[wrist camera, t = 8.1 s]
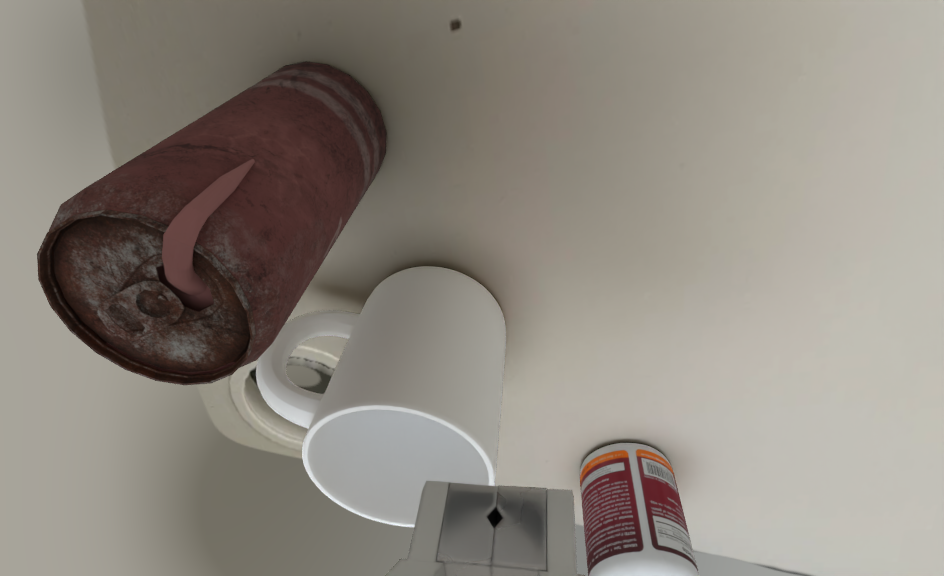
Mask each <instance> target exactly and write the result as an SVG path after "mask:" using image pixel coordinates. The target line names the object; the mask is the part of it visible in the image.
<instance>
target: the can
mask: <svg viewBox="0 0 944 576" xmlns="http://www.w3.org/2000/svg"><path fill="white" fill-rule="evenodd" d="M385 153H386V130H385V127H384V123H383V120H382V116H381V113H380V110H379V109H378V107H377V106H376V104H375V103H374V101H373V99H372V98H371V96H370V95H369V93H368V92H367V91H366V90H365V89H364V88H363V87H362V86H361V85H360V84H359V83H358V82H356V81H355V80H354V79H353V78H352V77H351V76H350V75H348V74H346V73H344V72H342V71H340V70H338V69H336V68H333V67H331V66H329V65H325V64H319V63H312V62H302V63H297V64H292V65H287V66H284V67H283V68H281V69H279V70H278V71H276V72H275V73H273V74H271V75H270V76H268V77H266V78H265V79H263V80H261V81H260V82H258V83H257V84H255V85H253V86H252V87H250V88H248V89H247V90H245V91H243V92H242V93H240V94H239V95H237V96H235V97H234V98H232V99H230V100H229V101H227V102H225V103H224V104H222V105H221V106H219V107H217V108H216V109H214V110H212V111H211V112H209V113H207V114H206V115H204V116H203V117H201V118H199V119H198V120H196V121H194V122H193V123H191V124H189V125H188V126H186V127H185V128H183V129H181V130H180V131H178V132H176V133H175V134H173V135H171V136H170V137H168V138H167V139H165V140H163V141H162V142H160V143H158V144H157V145H155V146H153V147H152V148H150V149H149V150H147V151H145V152H144V153H142V154H140V155H139V156H137V157H135V158H134V159H132V160H130V161H129V162H127V163H126V164H124V165H122V166H121V167H119V168H117V169H116V170H114V171H112V172H111V173H109V174H108V175H106V176H104V177H103V178H101V179H100V180H98V181H96V182H94V183H93V184H91V185H90V186H88V187H86V188H85V189H83V190H82V191H80V192H79V193H77V194H76V195H74V196H73V197H72V198H70V199H69V200H67V201H66V202H64V203H63V204H61V206H60V208H59V210H58V212H57V214H56V216H55V219H54V221H53V223H52V225H51V227H50V229H49V232H48V233H47V234H46V237H45V239H44V241H43V243H42V245H41V247H40V249H39V251H38V253H37V259H38V277H39V282H40V284H41V286H42V288H43V290H44V293H45V295H46V297H47V300H48V302H49V304H50V306H51V307H52V309H53V310H54V311H55V312H56V314H57V315H58V316H59V317H60V319H61V320H62V321H63V322H64V324H65V325H66V326H67V327H68V329H69V330H70V331H71V332H72V333H73V334H74V335H76V336H77V337H78V338H79V339H81V340H82V341H83V342H84V343H85V344H86V345H88V346H89V347H90V348H91V349H92V350H93V351H95V352H96V353H97V354H99V355H101V356H103V357H104V358H106V359H108V360H110V361H111V362H113V363H115V364H117V365H118V366H120V367H122V368H124V369H125V370H128V371H131V372H134V373H136V374H139V375H142V376H145V377H147V378H150V379H153V380H155V381H162V382H168V383H174V384H181V385H194V384H207V383H213V382H215V381H218V380H220V379H222V378H225V377H227V376H230V375H232V374H233V373H234V372H235V371H236V370H237V369H238V368H240V367H242V366H244V365H247V364H249V363H251V362H253V361H256V360H257V359H258V358H259V357H260V356H261V355H262V354H263V353H264V352H265V351H266V350H267V349H268V348H269V347H270V346H271V344H272V343H273V342H274V340H275V339H276V337H277V335H278V334H279V332H280V330H281V329H282V327H283V326H284V324H285V322H286V321H287V319H288V317H289V316H290V314H291V313H292V311H293V309H294V308H295V306H296V304H297V303H298V301H299V300H300V298H301V296H302V295H303V293H304V291H305V290H306V288H307V287H308V285H309V283H310V282H311V280H312V278H313V277H314V275H315V274H316V272H317V270H318V269H319V267H320V265H321V264H322V262H323V261H324V259H325V257H326V256H327V254H328V252H329V251H330V249H331V248H332V246H333V244H334V243H335V241H336V239H337V238H338V236H339V235H340V233H341V231H342V230H343V228H344V226H345V225H346V223H347V222H348V220H349V218H350V217H351V215H352V213H353V212H354V210H355V209H356V207H357V205H358V204H359V202H360V200H361V199H362V197H363V196H364V194H365V192H366V191H367V189H368V187H369V186H370V184H371V183H372V181H373V179H374V178H375V176H376V174H377V173H378V171H379V169H380V167H381V164H382V161H383V159H384V156H385Z"/></svg>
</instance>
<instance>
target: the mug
mask: <svg viewBox="0 0 944 576" xmlns="http://www.w3.org/2000/svg"><path fill="white" fill-rule="evenodd" d="M318 336H337V337H342V338H346V339H349V340H348V342H347V344H346V346H345V348H344V351H343V353H342V355H341V357H340V360H339V362H338V364H337V366H336V369H335V371H334V373H333V375H332V378H331V380H330V382H329V385H328V387H327V389H326V392H325V393H324V394H318V393H314V392H310V391H307V390H305V389H302V388H300V387H298V386H296V385H295V384H294V383H292V382H291V380H290V379H289V378H288V376H287V373H286V364H287V361H288V358H289V356H290V355H291V353H292V352H293V350H294V349H295V348H296V347H297V346H298V345H300V344H301V343H303V342H304V341H306V340H308V339H311V338H314V337H318ZM505 352H506V326H505V321H504V316H503V313H502V311H501V308H500V306H499V305H498V303H497V301H496V300H495V299H494V297H493V296H492V295H491V293H490V292H489V291H488V290H487V289H486V288H485V287H483V286H482V285H481V284H480V283H478V282H477V281H475V280H474V279H472V278H471V277H469V276H467V275H465V274H462V273H460V272H457V271H454V270H451V269H447V268H442V267H434V266H421V267H413V268H409V269H405V270H402V271H399V272H397V273H395V274H393V275H391V276H389V277H387V278H386V279H385V280H383V281H382V282H381V283H380V284H379V285H378V286H377V287H376V288H375V289H374V291H373V292H372V293H371V295H370V296H369V298H368V299H367V301H366V303H365V305H364V307H363V309H362V311H361V313H360V314H357V313H353V312H347V311H339V310H323V311H315V312H310V313H306V314H303V315H301V316H298V317H296V318H294V319H292V320H290V321H288V322H287V323H285V324H284V326H283V327H282V329H281V330H280V332H279V334H278V335H277V337H276V339H275V340H274V342H273V343H272V344H271V346H270V347H269V348H268V349H267V350H266V351H265V352H264V353H263V354H262V355H261V356H260V357H259V359H258V362H257V368H256V378H257V384H258V387H259V390H260V392H261V395H262V397H263V398H264V400H265V401H266V403H267V404H268V405H269V406H270V407H271V408H272V409H273V410H274V411H275V412H276V413H278V414H279V415H281V416H282V417H284V418H285V419H287V420H289V421H291V422H293V423H295V424H297V425H300V426H302V427H305V428H308V431H307V433H306V435H305V438H304V441H303V445H302V458H303V462H304V466H305V468H306V471H307V473H308V474H309V477H310V478H311V480H312V481H313V482H314V483H315V485H316V486H317V487H318V488H319V489H320V490H321V491H322V492H323V493H324V494H325V495H326V496H327V497H329V498H330V499H331V500H333V501H334V502H336V503H337V504H339V505H340V506H342V507H344V508H345V509H347V510H350V511H351V512H353V513H355V514H358V515H360V516H363V517H366V518H368V519H371V520H374V521H378V522H381V523H386V524H390V525H396V526H404V527H415V522H416V517H417V513H418V508H419V504H420V499H421V494H422V490H423V487H424V485H425V483H426V481H441V482H451V483H464V484H477V485H490V486H495V479H496V467H497V454H498V441H499V428H500V416H501V403H502V390H503V378H504V365H505Z"/></svg>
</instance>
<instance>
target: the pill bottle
mask: <svg viewBox="0 0 944 576" xmlns="http://www.w3.org/2000/svg"><path fill="white" fill-rule="evenodd" d="M580 486H581V496H582V509H583V520H584V532H585V543H586V554H587V566H588V576H699V573H698V569H697V565H696V561H695V557H694V554H693V549H692V545H691V541H690V537H689V533H688V529H687V525H686V521H685V517H684V513H683V509H682V505H681V501H680V497H679V493H678V489H677V485H676V481H675V477H674V473H673V470H672V467H671V465H670V463H669V461H668V460H667V458H666V457H665V456H664V455H663V454H662V453H660V452H659V451H657V450H656V449H654V448H652V447H649V446H647V445H643V444H638V443H617V444H612V445H608V446H605V447H602V448H600V449H598V450H596V451H594V452H593V453H591V454H590V455H589V456H588V457H587V458H586V459H585V460H584V462H583V464H582V466H581V469H580Z"/></svg>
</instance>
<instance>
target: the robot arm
mask: <svg viewBox="0 0 944 576" xmlns="http://www.w3.org/2000/svg"><path fill="white" fill-rule="evenodd" d="M575 538H576V537H575V516H574V496H573V492H572V490H560V489H547V490H546V488H536V487H516V486H490V485H477V484H464V483H451V482H441V481H426V483H425V485H424V487H423V490H422V494H421V499H420V504H419V508H418V513H417V517H416V522H415V527H414V532H413V536H412V540H411V545H410V550H409V554H408V559H400V560H399V561H398V562H397V563H396V564H395V565H394V566H393V568H392V569H391V570H390V571H389V572H388V573H387V574H386V575H385V576H585V575H580V574H577V560H576V539H575Z"/></svg>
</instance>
